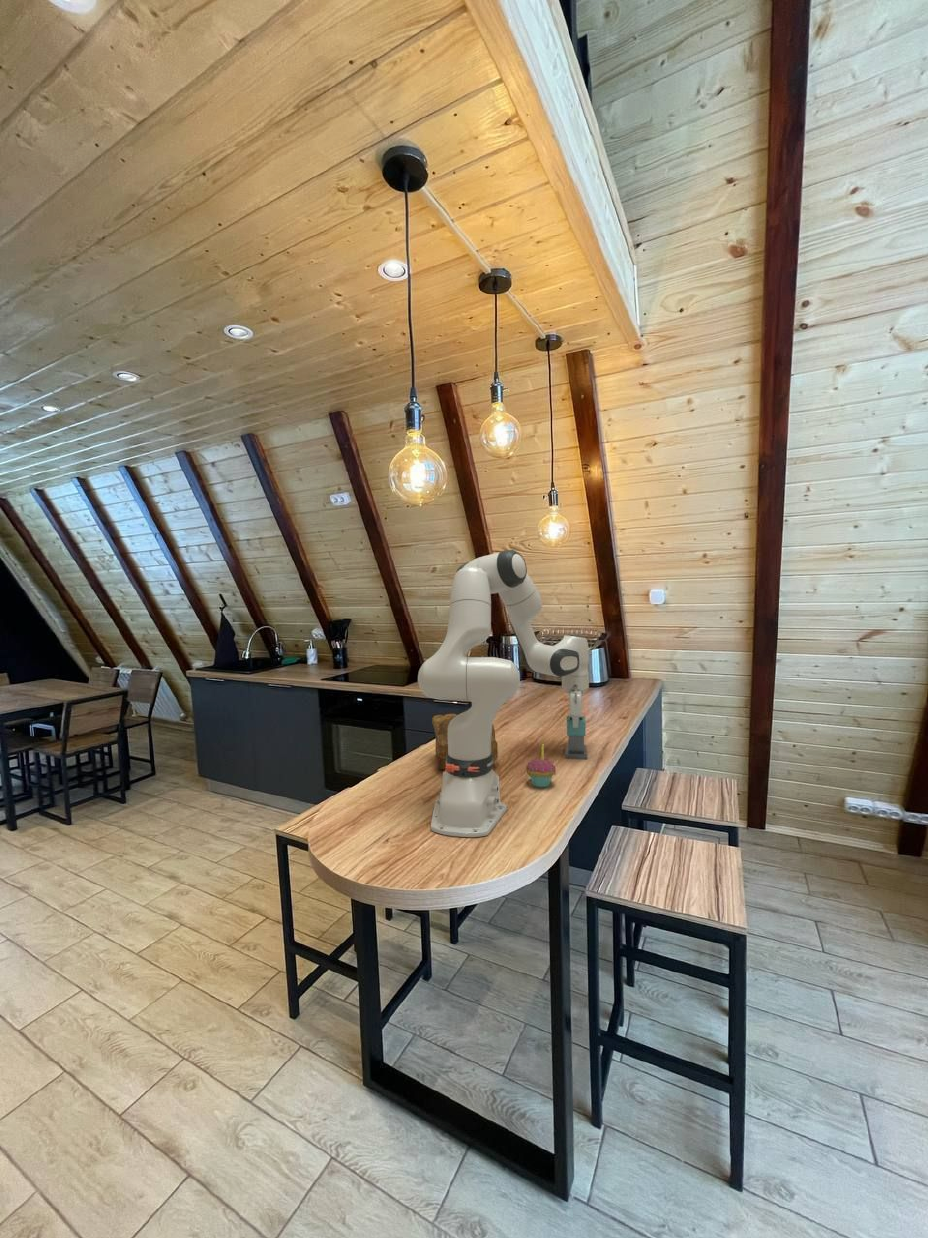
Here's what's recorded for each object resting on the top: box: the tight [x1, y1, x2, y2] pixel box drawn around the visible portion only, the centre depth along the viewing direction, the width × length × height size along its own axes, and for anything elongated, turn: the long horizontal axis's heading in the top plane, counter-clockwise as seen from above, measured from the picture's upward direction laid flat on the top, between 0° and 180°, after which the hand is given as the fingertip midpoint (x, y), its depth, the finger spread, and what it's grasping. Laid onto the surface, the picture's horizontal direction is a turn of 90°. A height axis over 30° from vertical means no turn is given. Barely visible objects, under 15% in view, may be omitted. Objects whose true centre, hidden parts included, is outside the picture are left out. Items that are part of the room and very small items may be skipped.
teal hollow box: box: [566, 715, 587, 737], centre depth 165 cm, size 6×6×5 cm
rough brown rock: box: [431, 713, 499, 770], centre depth 155 cm, size 23×17×15 cm
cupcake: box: [525, 740, 557, 788], centre depth 140 cm, size 9×8×12 cm
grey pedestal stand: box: [564, 735, 588, 760], centre depth 167 cm, size 13×7×12 cm, turn 168°
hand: (575, 723), depth 165 cm, fingers open, 8 cm apart
